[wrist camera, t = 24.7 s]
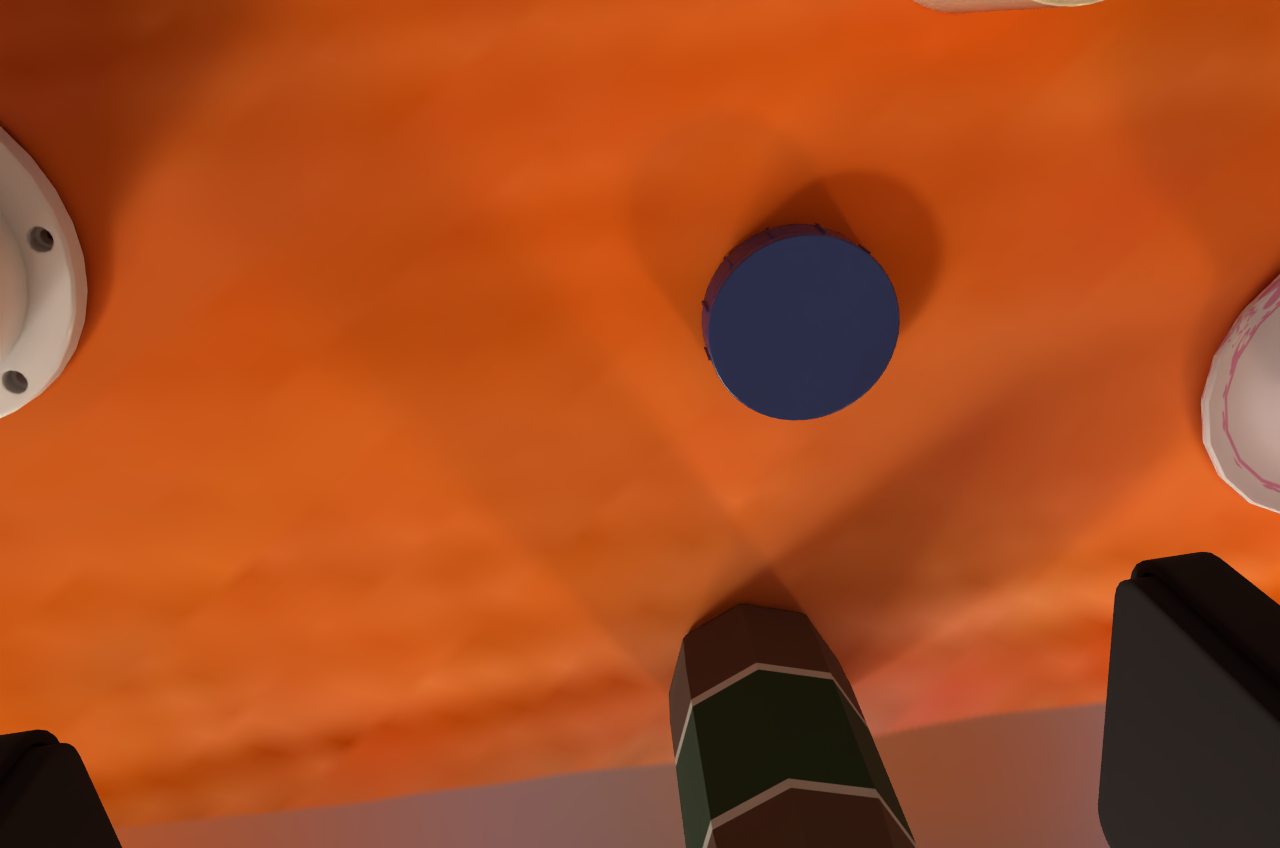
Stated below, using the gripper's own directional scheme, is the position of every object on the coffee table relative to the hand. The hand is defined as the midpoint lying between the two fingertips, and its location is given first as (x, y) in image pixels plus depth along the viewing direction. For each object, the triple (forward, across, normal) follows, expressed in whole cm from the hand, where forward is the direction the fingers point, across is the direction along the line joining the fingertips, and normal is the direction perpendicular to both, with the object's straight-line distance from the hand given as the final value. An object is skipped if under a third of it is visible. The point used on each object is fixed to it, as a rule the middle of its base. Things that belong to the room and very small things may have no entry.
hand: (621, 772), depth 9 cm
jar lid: (+26, -8, +5) cm, 27 cm away
